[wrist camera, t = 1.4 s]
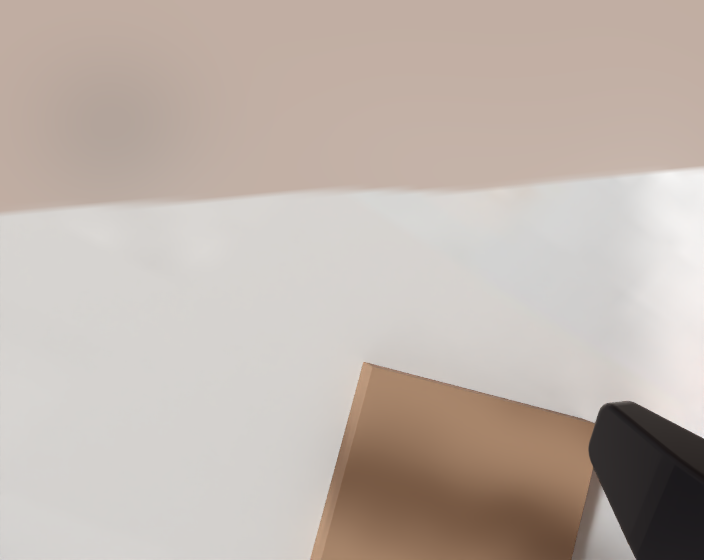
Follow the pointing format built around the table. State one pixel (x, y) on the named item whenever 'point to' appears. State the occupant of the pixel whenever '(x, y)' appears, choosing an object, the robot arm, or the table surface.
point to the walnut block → (452, 476)
